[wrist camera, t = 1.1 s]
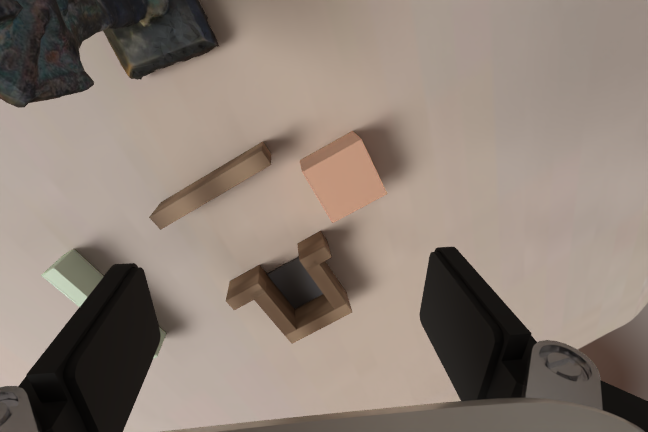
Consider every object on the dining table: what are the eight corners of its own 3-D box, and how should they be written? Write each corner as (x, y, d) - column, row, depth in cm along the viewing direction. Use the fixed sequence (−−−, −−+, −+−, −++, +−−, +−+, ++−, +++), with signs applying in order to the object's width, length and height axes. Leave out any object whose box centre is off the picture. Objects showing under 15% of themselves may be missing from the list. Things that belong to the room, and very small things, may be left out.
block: (352, 130, 33) (361, 139, 30) (376, 180, 36) (387, 193, 32) (299, 159, 34) (302, 171, 30) (326, 207, 37) (332, 223, 33)
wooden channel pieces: (263, 141, 33) (261, 150, 29) (357, 287, 41) (364, 306, 38) (161, 202, 34) (149, 217, 31) (273, 331, 43) (273, 353, 39)
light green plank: (73, 248, 35) (53, 267, 32) (166, 333, 41) (157, 356, 37) (62, 255, 35) (41, 275, 32) (156, 338, 41) (146, 362, 38)
